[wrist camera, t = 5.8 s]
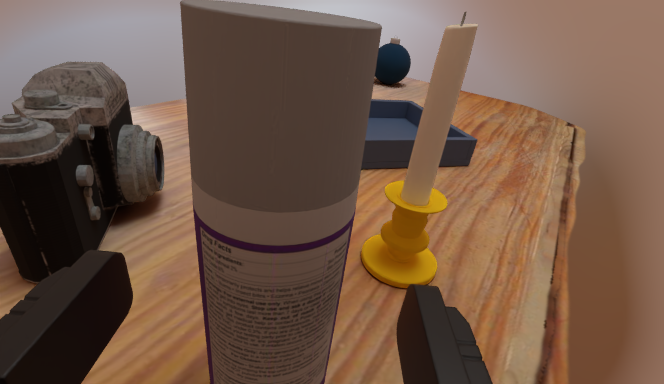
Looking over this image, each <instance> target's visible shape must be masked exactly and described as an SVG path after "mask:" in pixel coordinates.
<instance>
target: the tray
mask: <svg viewBox="0 0 664 384" xmlns="http://www.w3.org/2000/svg"><path fill="white" fill-rule="evenodd" d="M422 112H423V107H421V106H419V105H417V104H416V103H414V102H412V101H403V100H376V99H371V104H370V111H369V118H368V125H367V132H366V138H365V145H364V152H363V159H362V166H361V169H377V168H407V167H408V166H409V162H410V158H411V154H412V150H413V147H414V143H415V139H416V135H417V131H418V127H419V123H420V119H421V115H422ZM476 143H477V139H475V138H474V137H472V136H470V135H469V134H467V133H465V132H463V131H462V130H460V129H458V128H457V127H455V126H453V125H450V128H449V132H448V135H447V139H446V142H445V146H444V149H443V153H442V156H441V160H440V163H439V166H468V165H469V163H470V159H471V157H472V154H473V151H474V149H475V146H476Z"/></svg>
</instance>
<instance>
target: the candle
mask: <svg viewBox="0 0 664 384" xmlns="http://www.w3.org/2000/svg"><path fill="white" fill-rule="evenodd" d="M465 16H466V12H465V13H464V16H463V19H462V22H461V24H457V25H450V26H447V27H446V29H445V32H444V35H443V38H442V42H441V45H440V48H439V52H438V55H437V58H436V62H435V65H434V69H433V73H432V77H431V81H430V84H429V88H428V92H427V96H426V100H425V104H424V108H423V112H422V115H421V119H420V123H419V127H418V131H417V135H416V139H415V143H414V147H413V150H412V154H411V158H410V162H409V166H408V170H407V174H406V178H405V181H395V182H392V183H390V184H388V185H387V186H386V187H385V195H386V197H387V198H388V199H389V200H390V201H391V202H392V203H394V204H395V206H396V208H395V210H394V211H393V214H392V220H391V221H388V222H386V223H385V224H384V225H383V226H382V229H381V234H378V235H376V236H373V237H371V238H369V239H368V240H366V242H365V243H364V245H363V247H362V252H361V259H362V263H363V264H364V266H365V268H366V269H367V270H368V271H369V272H370V273H371V274H372V275H373V276H374V277H376V278H377V279H379V280H380V281H382V282H384V283H386V284H389V285H391V286H395V287H400V288H408V286H409V285H410V284H419V285H426V284H428V283H429V282H430V281H431V280H432V279H433V278H434V276H435V273H436V270H437V261H436V259H435V257H434V255H433V254H432V253H431V252H430V250H429V249H428V248H427V246H428V244H429V236H428V234H427V232H426V231H425V230H424V228H425V226H426V224H427V216H428V215H429V214H433V213H438V212H441V211H443V210H444V209H446V206H447V204H448V203H447V199H446V198H445V196H444V195H443V194H442V193H441V192H439V191H438V190H436V189H434V188H433V184H434V180H435V177H436V173H437V170H438V167H439V163H440V160H441V156H442V153H443V149H444V146H445V142H446V139H447V135H448V132H449V128H450V125H451V121H452V118H453V114H454V111H455V107H456V104H457V100H458V97H459V93H460V90H461V86H462V83H463V79H464V76H465V72H466V69H467V65H468V62H469V58H470V54H471V50H472V46H473V42H474V38H475V34H476V30H477V27H478V25H477V24H463V23H464V20H465Z"/></svg>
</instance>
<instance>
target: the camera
mask: <svg viewBox="0 0 664 384" xmlns="http://www.w3.org/2000/svg"><path fill="white" fill-rule="evenodd" d="M12 105H13V109H14V112H15V114H8V115H4V116H3V118H2V119H0V227H1V230H2V232H3V234H4V236H5V239H6V241H7V243H8V246H9V248H10V250H11V253H12V255H13V257H14V260H15V262H16V264H17V267H18V269H19V273H20V275H21V276H22V278H23V279H24V280H27V281H30V282H33V283H40V282H41V281H42V280H43V279H45V278H47V277H48V276H50V275H52V274H53V273H55V272H57V271H59V270H60V269H62V268H64V267H71V266H72V265H73V264H74V263H75V262H76V261H77V260H78V259H79V258H80V257H81V256H82V255H83V254H84V253H86V252H87V251H89V250H98V249H99V247H100V245H101V243H102V241H103V239H104V237H105V234H106V232H107V230H108V228H109V226H110V223H111V221H112V219H113V216H114V214H115V212H116V209H117V207H118V206H123V205H131V204H133V202H143V201H145V199H146V197H147V196H152V195H153V194H154V191H159V190H162V188H163V183H164V157H163V149H162V144H161V140H160V138H159V137H158V136H155V135H151V134H150V132H149V131H143V129H142V128H141V126H139V125H133V123H132V117H131V111H130V105H129V100H128V94H127V89H126V85H125V82H124V81H123V80H122V79H121V78H120V77H119V76H118V75H117V74H116V73H115V72H114V71H112V70H111V69H110V68H109V67H107V66H106V65H105V64H103V63H102V62H66V63H62V64H59V65H56V66H53V67H50V68H47V69H45V70H43V71H41V72H39V73H37V74H35V75H34V76H33V77H32V78H31V79H30V81H29V82H28V83H27V84H26V86H25V87H24V88H23V89H22V97H21V98H19V99H17V100H16V101H14V102H12Z"/></svg>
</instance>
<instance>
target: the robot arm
mask: <svg viewBox="0 0 664 384" xmlns="http://www.w3.org/2000/svg"><path fill="white" fill-rule="evenodd" d="M132 300H133V291H132V287H131V283H130V278H129V274H128V270H127V265H126V261H125V257H124V255H123V254H122V253H118V252H109V251H99V250H89V251H87V252H86V253H84V254H83V255H82V256H81V257H80V258H79V259H78V260H77V261H76V262H75V263H74V264H73V265H72V266H71V267H64V268H62V269H60V270H59V271H57V272H55V273H53V274H52V275H50V276H48V277H47V278H45V279H43V280H42V281H41V282H40V283H38V284H37V285H36V286H35V287H34V288H33V289H32V290H31V291H30V292H29V293H28V294H27V295H26V296H25V298H24V300H20V301H19V302H18V303H17V304H16V305H15V306H14V307H13V308H12V309H11V310H10V313H9V314H6V315H5V316H4V317H2V318H1V319H0V384H81V383H82V381H83V380H84V378H85V377H86V375H87V374H88V372H89V371H90V370H91V368H92V367H93V365H94V364H95V362H96V361H97V359H98V358H99V356H100V355H101V353H102V352H103V350H104V349H105V347H106V346H107V344H108V343H109V341H110V340H111V338H112V337H113V335H114V334H115V332H116V331H117V329H118V328H119V326H120V325H121V323H122V322H123V321H124V319H125V318H126V316H127V314H128V312H129V310H130V308H131V305H132ZM397 345H398V351H399V357H400V363H401V369H402V375H403V382H404V384H493V383H492V381H491V378H490V376H489V373H488V371H487V368H486V366H485V363H484V361H482V355H481V353H480V350H479V348H478V346H477V345H476V340H475V337H474V335H473V332H472V330H471V327H470V325H469V323H468V322H467V321H466V319H465V318H464V317H463V316H462V315H461V313H460V312H459V311H458V310H457V308H456V307H446V306H445V304H444V301H443V298H442V295H441V292H440V290H439V288H438V287H437V286H429V285H419V284H410V285H409V286H408V289H407V292H406V295H405V299H404V302H403V305H402V308H401V312H400V315H399V318H398V323H397Z"/></svg>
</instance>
